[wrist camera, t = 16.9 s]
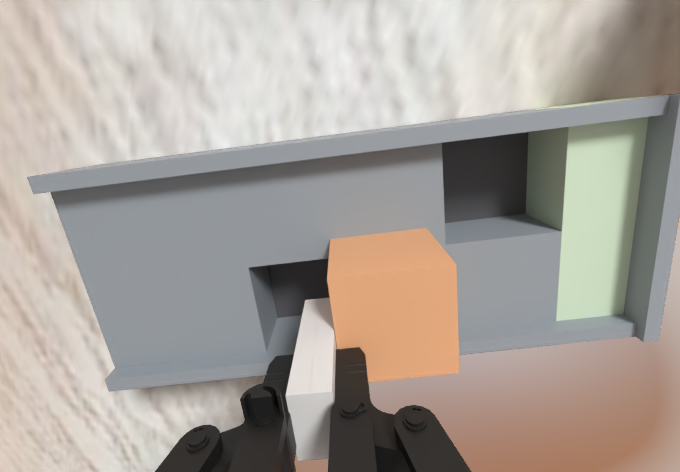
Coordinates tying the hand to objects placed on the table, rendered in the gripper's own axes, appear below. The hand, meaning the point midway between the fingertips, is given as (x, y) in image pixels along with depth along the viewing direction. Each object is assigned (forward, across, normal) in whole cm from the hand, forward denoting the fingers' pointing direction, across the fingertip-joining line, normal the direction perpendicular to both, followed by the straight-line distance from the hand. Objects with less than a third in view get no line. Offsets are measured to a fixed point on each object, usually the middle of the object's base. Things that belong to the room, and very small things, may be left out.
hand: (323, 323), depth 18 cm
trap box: (+6, +2, +3) cm, 7 cm away
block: (+2, +3, +1) cm, 4 cm away
